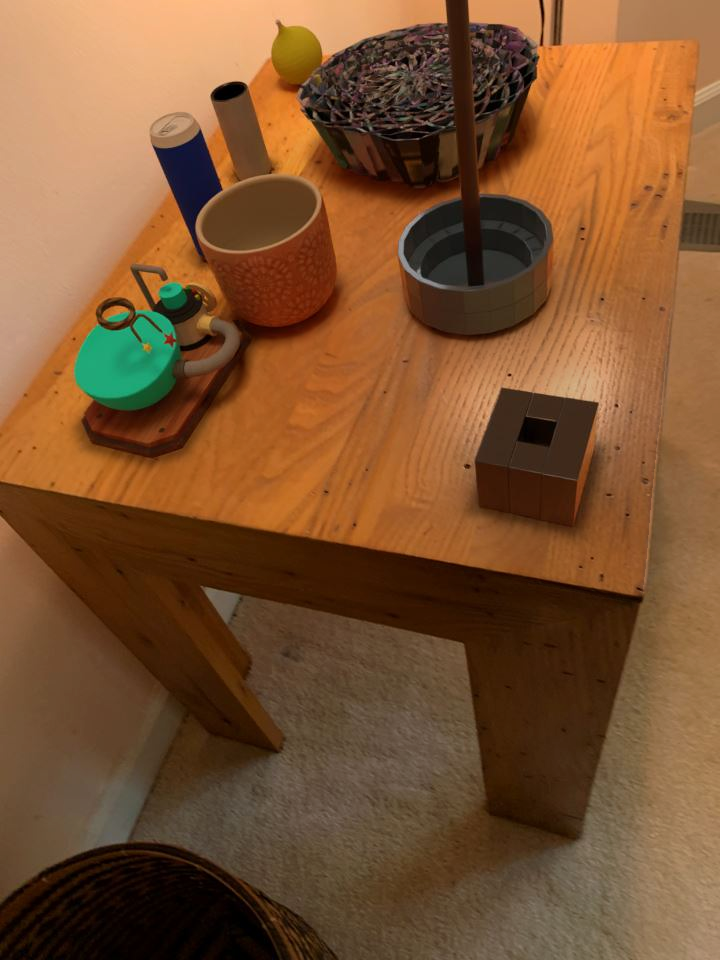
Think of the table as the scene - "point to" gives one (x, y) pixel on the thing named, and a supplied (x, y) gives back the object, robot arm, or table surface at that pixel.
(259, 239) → the planter
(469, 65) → the stirring stick
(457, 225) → the bowl
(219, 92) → the cardboard tube
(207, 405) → the contraption on wooden base
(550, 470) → the holder
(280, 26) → the yellow oval fruit
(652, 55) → the table surface
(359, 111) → the decorative bowl
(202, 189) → the beverage can
